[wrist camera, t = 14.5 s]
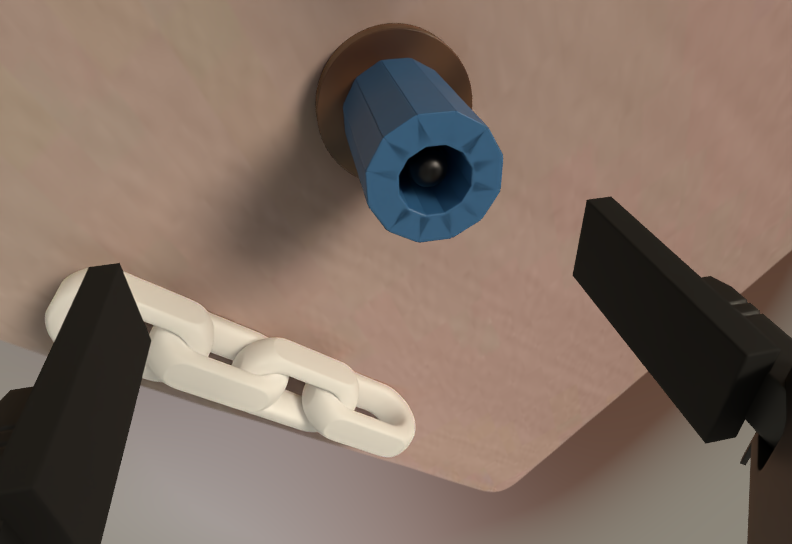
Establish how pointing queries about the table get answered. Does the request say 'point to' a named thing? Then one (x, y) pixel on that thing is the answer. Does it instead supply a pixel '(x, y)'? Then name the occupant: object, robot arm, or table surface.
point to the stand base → (366, 53)
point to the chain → (256, 371)
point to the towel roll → (407, 135)
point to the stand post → (427, 166)
